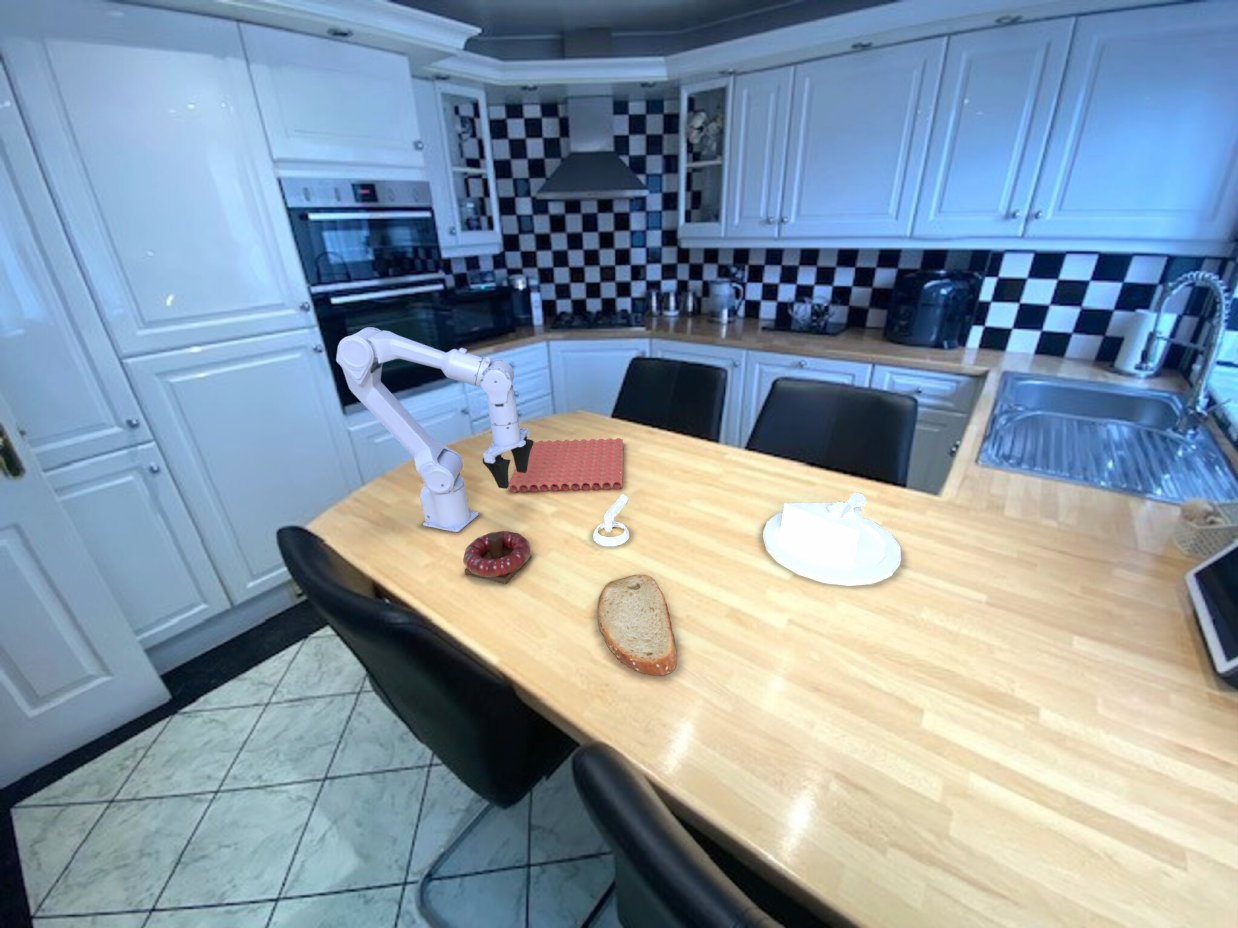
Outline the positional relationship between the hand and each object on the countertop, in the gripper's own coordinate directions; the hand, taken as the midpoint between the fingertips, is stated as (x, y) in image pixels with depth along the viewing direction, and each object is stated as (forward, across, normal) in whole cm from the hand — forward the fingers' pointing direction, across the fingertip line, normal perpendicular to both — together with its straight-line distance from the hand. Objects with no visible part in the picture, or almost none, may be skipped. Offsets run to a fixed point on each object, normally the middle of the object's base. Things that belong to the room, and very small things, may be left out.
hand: (513, 479), depth 110 cm
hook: (+10, -1, -23) cm, 25 cm away
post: (+9, -17, -6) cm, 20 cm away
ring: (+7, -17, -6) cm, 19 cm away
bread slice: (+10, -23, -37) cm, 45 cm away
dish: (+10, +9, -65) cm, 66 cm away
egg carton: (+10, +27, 0) cm, 29 cm away
